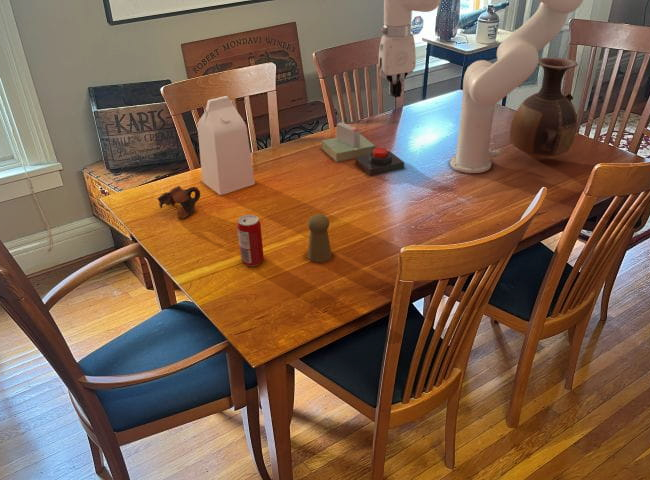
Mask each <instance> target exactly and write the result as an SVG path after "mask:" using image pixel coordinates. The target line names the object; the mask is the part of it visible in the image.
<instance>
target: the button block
mask: <svg viewBox="0 0 650 480" xmlns="http://www.w3.org/2000/svg"><path fill="white" fill-rule="evenodd" d="M355 165H356V166H358V168H360V169H361V170H362V171H363V172H365V173H366V174H367V175H368V176H369V177H372V176H377V175H381V174H386V173H390V172H395V171H400V170H404V169H405V162H404V161H403V160H402V159H401V158H399V157H398V156H397V155H395V153H393V152H391V151H390V150H387V157H384V158H376V157H374V156H373V151H371V152H370V153H369V155H367V156H362V157H357V158H355Z"/></svg>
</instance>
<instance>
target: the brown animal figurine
mask: <svg viewBox="0 0 650 480" xmlns="http://www.w3.org/2000/svg"><path fill="white" fill-rule="evenodd" d="M192 193H194V197H192ZM200 198H201V191H200V190H199V188H198V187H196V186H191V187H189V188H187V189H184V188H182V187H181V186H180V185H177V186H175V187H173V188H172V189H171V188H170V190H169V191H168V192H164V193H163V194H161V195H160V196H159V197H157V201H159V202H158V206H159V209H161V210H162V209H163V205H166V206H171V205H172V206H175V205H176V204H179V205H180V206H181V208H182V209H181V210H179V211H178V212H177V215H178V216H179V218H180V219H181V220H183V219H185V218H187V217H189V216H190V215H192V214H194V213H195V212H196V209H195V205H196V203H197V202H199V200H200Z"/></svg>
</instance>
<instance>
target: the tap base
mask: <svg viewBox="0 0 650 480" xmlns="http://www.w3.org/2000/svg"><path fill="white" fill-rule="evenodd" d="M321 149H322V150H323V152H325V153H326V154H327V155H328V156H329V157H330V158H331V159H332V160H334V161H335V162H336V163H339V162H343V161H348V160H353V159H356V158H357V157H362V156H367V155H369V153H370V152H371V151H373V150H374V149H376V144H374V143H372V142H371V141H370V140H369V139H367V138H366V137H365V136H364V135H362V134H361V133H360V146H358V147H355V148H354V147H352V146H349V145H347V144H345V143H343V142H341V141H338V140H337V137H333V138H328V139H321Z"/></svg>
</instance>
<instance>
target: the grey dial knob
mask: <svg viewBox="0 0 650 480" xmlns="http://www.w3.org/2000/svg"><path fill="white" fill-rule="evenodd" d="M360 134H361V129H360V128H358V127H355V126H352V125H350V124H348V123H346V122H343V121H341V122H339V123H336V138H337V140H338V141H341V142H343V143H345V144H347V145H349V146H352V147H354V148H355V147H358V146H360Z"/></svg>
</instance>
